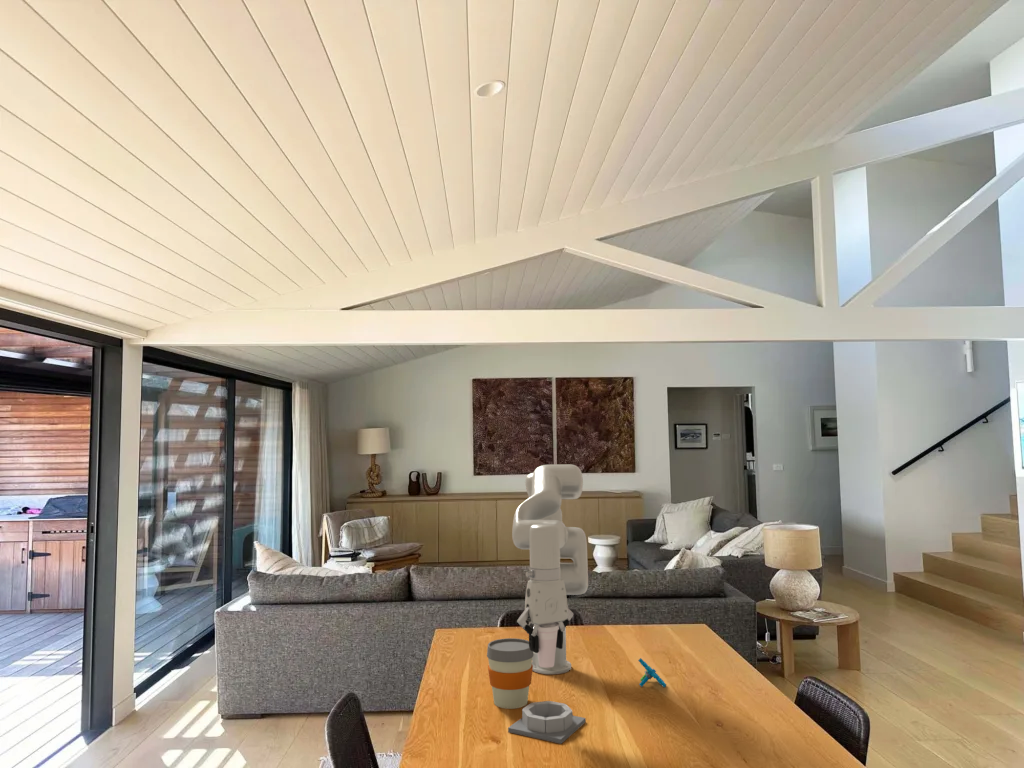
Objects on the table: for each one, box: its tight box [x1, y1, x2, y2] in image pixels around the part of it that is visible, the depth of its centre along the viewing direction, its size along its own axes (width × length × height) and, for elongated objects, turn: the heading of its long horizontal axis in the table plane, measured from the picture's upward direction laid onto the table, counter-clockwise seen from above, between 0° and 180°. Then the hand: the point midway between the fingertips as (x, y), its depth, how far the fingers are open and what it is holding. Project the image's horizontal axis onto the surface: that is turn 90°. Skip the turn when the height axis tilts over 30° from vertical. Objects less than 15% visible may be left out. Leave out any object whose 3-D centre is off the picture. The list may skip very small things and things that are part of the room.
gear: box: [638, 658, 667, 688], centre depth 198 cm, size 11×6×10 cm
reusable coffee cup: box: [486, 637, 534, 710], centre depth 187 cm, size 13×13×15 cm
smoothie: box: [536, 623, 559, 668], centre depth 172 cm, size 6×6×14 cm
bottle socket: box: [507, 700, 587, 745], centre depth 170 cm, size 14×14×4 cm
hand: (546, 648), depth 171 cm, fingers closed on smoothie, 6 cm apart
